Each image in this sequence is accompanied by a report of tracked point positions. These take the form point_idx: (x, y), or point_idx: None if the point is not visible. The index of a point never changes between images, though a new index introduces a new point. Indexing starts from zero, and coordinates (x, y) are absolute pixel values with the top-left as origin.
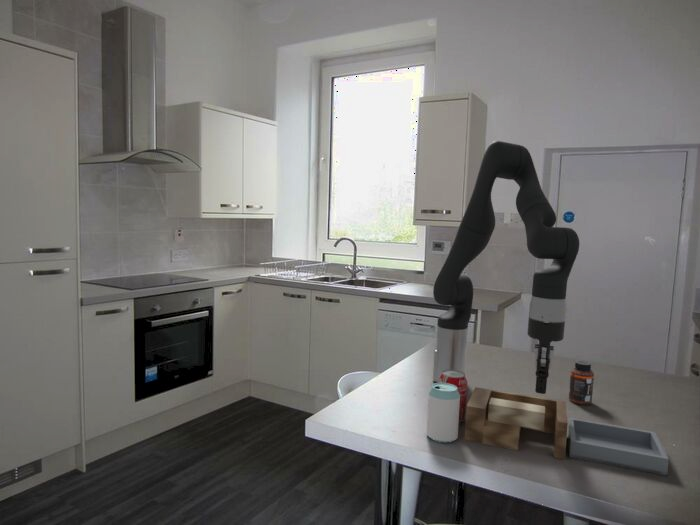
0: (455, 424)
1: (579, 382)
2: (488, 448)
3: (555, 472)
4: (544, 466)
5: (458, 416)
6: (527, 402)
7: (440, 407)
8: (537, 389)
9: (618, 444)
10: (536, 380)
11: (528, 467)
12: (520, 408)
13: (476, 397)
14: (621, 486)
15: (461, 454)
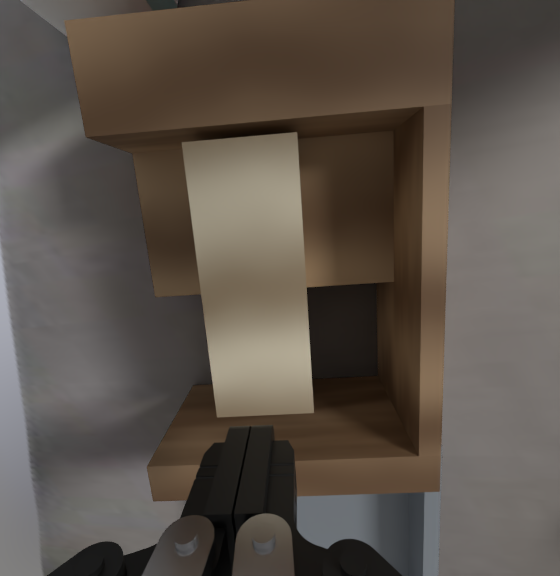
0: (54, 24)
1: None
2: (136, 191)
3: (103, 390)
4: (120, 363)
5: (65, 12)
6: (409, 315)
7: None
8: (206, 452)
9: (371, 541)
10: (213, 487)
11: (85, 324)
12: (210, 311)
13: (244, 42)
14: (130, 524)
15: (34, 114)
